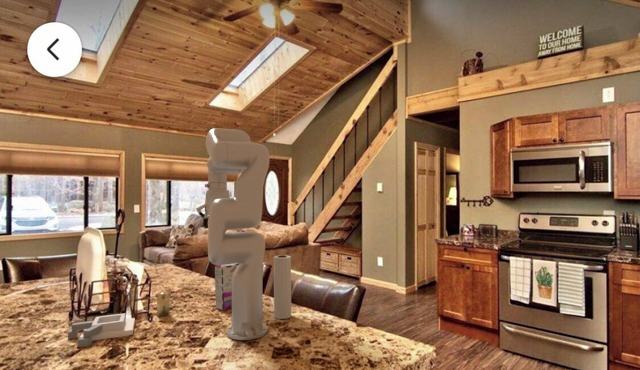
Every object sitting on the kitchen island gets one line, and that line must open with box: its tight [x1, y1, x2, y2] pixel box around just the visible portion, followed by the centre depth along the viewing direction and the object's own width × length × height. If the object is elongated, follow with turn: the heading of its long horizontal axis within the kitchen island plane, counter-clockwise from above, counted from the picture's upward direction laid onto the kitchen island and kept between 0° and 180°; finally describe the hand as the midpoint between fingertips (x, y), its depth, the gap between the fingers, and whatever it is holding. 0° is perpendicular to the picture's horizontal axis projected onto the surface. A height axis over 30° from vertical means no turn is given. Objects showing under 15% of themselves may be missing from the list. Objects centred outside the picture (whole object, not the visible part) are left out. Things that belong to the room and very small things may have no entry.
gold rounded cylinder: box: [154, 290, 172, 318], centre depth 133 cm, size 5×5×8 cm
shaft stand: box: [67, 312, 136, 348], centre depth 114 cm, size 17×18×4 cm
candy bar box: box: [214, 263, 239, 311], centre depth 142 cm, size 11×5×16 cm, turn 143°
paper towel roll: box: [273, 254, 292, 320], centre depth 130 cm, size 7×6×21 cm
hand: (217, 227), depth 154 cm, fingers open, 9 cm apart
